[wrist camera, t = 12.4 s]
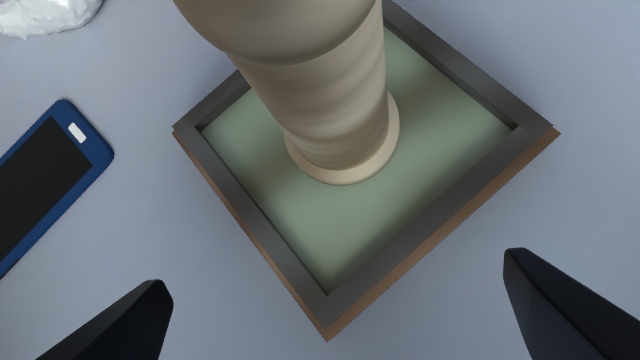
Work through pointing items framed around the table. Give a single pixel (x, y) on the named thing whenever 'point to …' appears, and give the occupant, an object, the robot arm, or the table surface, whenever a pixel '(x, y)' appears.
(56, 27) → the sitting furry creature
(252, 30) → the beige round-topped cylinder
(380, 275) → the picture frame
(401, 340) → the table surface
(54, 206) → the cell phone
